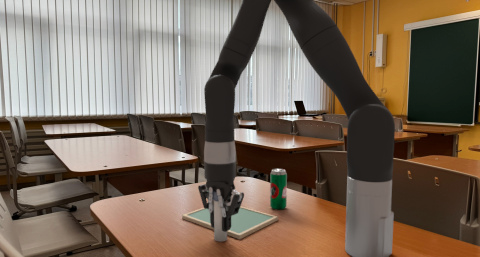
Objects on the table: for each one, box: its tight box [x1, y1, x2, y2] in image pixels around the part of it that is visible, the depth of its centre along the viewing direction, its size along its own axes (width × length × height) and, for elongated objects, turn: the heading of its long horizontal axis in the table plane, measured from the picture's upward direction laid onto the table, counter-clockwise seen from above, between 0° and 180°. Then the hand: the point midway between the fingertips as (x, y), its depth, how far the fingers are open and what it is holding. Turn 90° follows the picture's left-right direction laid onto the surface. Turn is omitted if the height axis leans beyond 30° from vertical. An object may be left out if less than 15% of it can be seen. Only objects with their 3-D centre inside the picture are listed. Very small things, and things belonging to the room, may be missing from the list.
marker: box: [213, 192, 228, 243], centre depth 84 cm, size 3×3×12 cm
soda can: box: [269, 168, 288, 211], centre depth 106 cm, size 5×5×12 cm
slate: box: [181, 205, 279, 240], centre depth 97 cm, size 22×17×1 cm
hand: (220, 228), depth 84 cm, fingers closed on marker, 3 cm apart
